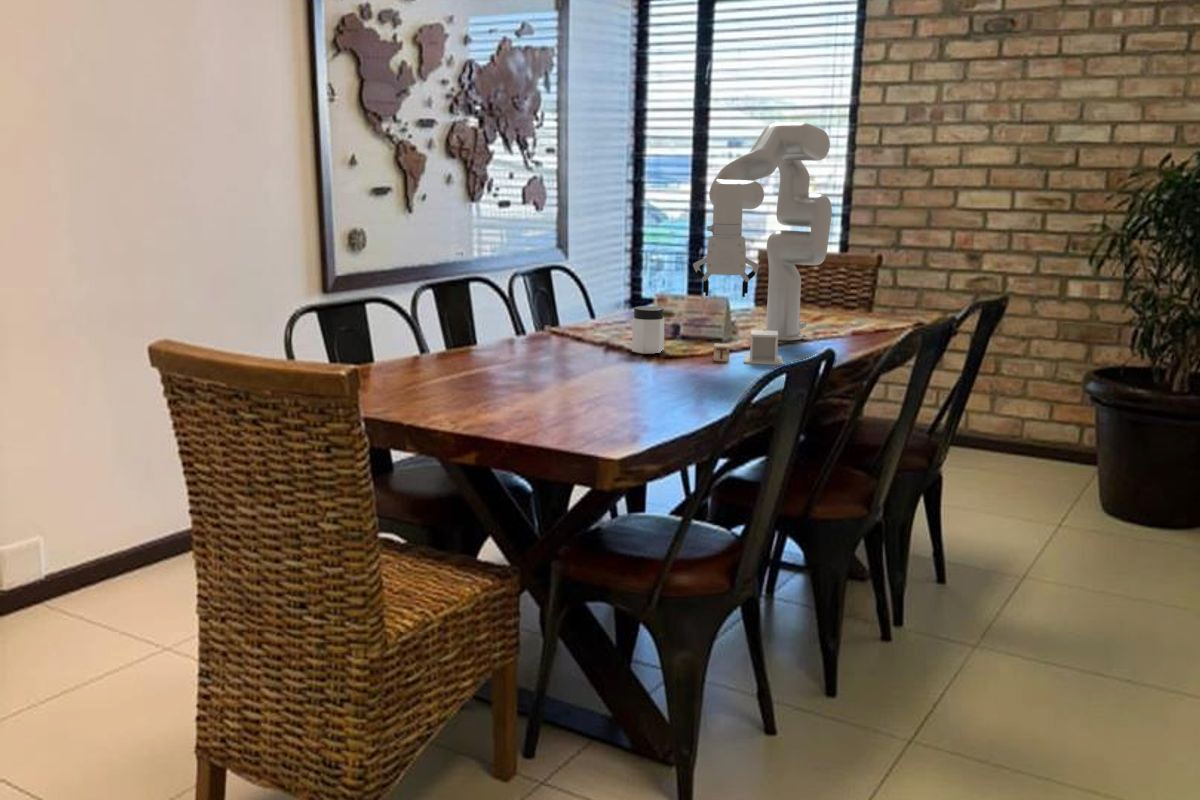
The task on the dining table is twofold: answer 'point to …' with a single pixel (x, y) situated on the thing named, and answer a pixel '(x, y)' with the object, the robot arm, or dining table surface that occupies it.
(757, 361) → the mat
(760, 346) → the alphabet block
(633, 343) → the jar
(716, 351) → the letter cube
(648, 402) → the dining table surface
